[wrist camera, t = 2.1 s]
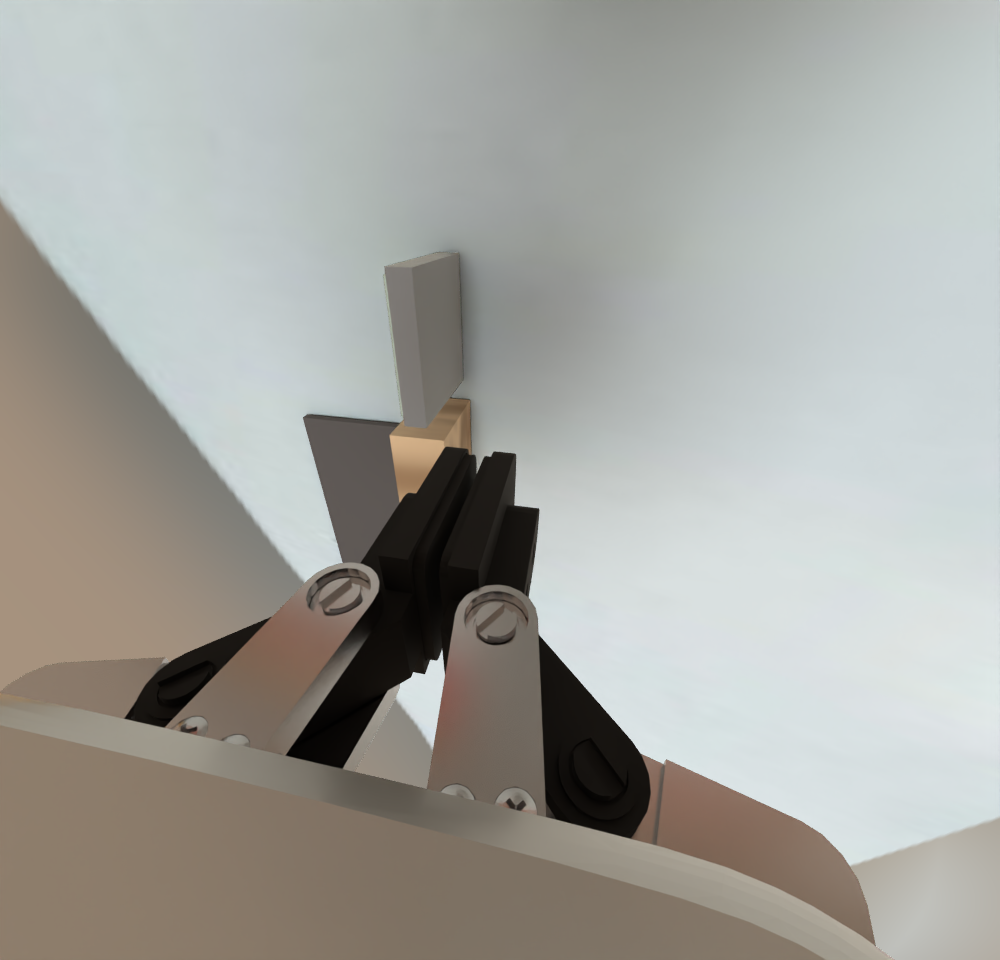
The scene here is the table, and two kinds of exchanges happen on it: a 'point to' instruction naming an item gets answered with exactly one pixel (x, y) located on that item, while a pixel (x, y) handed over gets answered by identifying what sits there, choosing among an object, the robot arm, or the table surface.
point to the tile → (425, 333)
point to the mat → (354, 478)
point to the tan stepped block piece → (428, 444)
